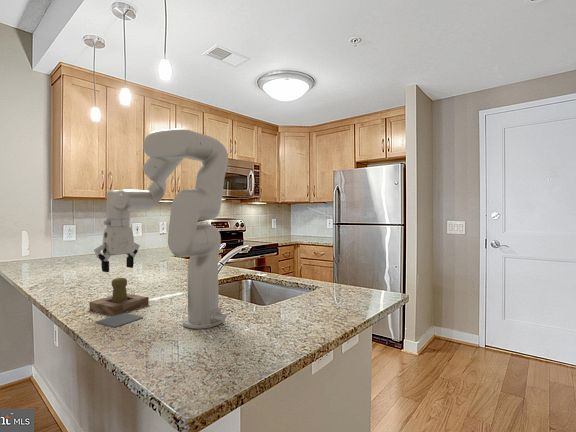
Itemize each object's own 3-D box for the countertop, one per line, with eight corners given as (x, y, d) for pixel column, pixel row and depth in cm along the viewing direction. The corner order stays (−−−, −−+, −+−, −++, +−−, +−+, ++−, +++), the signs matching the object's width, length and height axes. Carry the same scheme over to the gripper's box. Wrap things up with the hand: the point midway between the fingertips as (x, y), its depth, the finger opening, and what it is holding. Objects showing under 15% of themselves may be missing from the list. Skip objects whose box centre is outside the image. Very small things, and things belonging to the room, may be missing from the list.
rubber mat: (143, 318, 107) (143, 316, 107) (115, 327, 99) (115, 326, 99) (123, 313, 112) (123, 312, 112) (95, 322, 103) (95, 321, 103)
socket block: (148, 305, 122) (148, 297, 122) (113, 315, 110) (113, 307, 110) (124, 300, 129) (124, 293, 129) (89, 310, 116) (89, 302, 116)
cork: (112, 306, 121) (112, 277, 121) (130, 304, 123) (129, 276, 123) (108, 310, 116) (108, 280, 115) (127, 309, 117) (126, 279, 117)
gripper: (101, 225, 109) (101, 274, 110) (145, 223, 125) (145, 266, 125) (88, 224, 113) (88, 272, 113) (132, 222, 128) (132, 265, 129)
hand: (118, 269), depth 119 cm, fingers open, 9 cm apart
